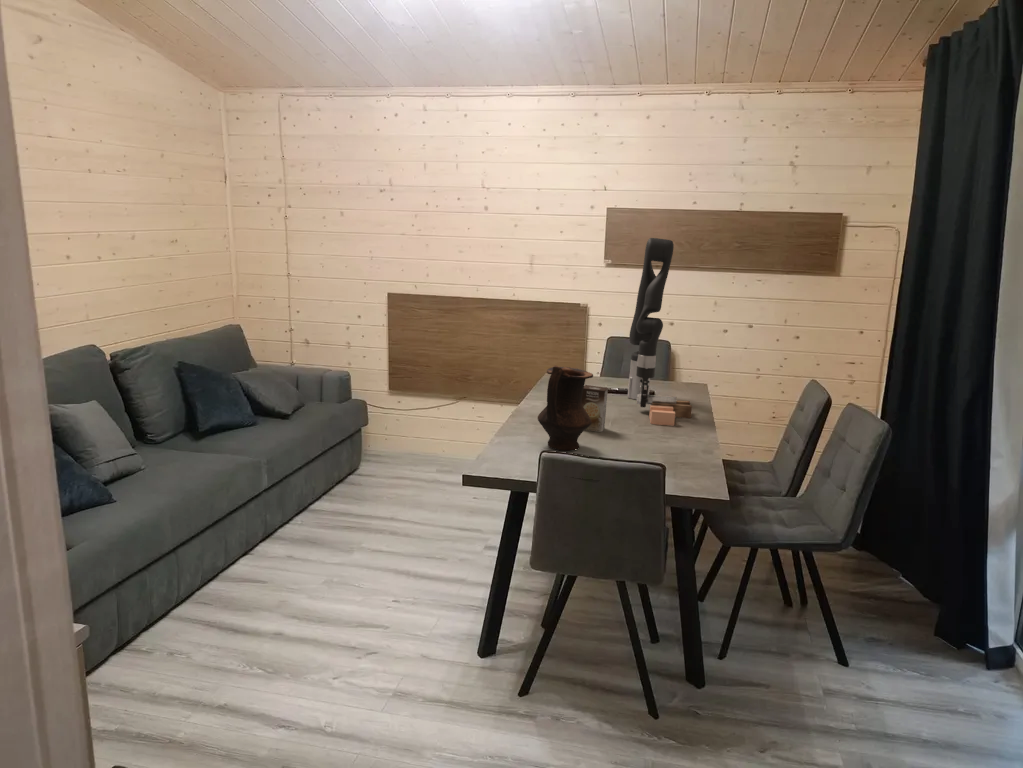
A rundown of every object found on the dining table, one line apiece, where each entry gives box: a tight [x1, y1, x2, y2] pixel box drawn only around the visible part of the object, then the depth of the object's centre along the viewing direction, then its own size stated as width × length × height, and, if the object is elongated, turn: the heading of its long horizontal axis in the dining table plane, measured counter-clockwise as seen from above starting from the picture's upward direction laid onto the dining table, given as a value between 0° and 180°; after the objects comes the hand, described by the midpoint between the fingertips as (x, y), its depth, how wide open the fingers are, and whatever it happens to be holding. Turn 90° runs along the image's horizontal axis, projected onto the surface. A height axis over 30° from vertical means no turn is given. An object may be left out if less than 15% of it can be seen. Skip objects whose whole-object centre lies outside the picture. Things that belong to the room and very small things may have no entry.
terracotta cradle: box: [648, 404, 676, 427], centre depth 290 cm, size 9×11×5 cm
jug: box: [537, 364, 594, 452], centre depth 247 cm, size 21×18×30 cm
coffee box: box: [581, 384, 609, 433], centre depth 274 cm, size 9×6×16 cm
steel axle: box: [636, 394, 677, 406], centre depth 302 cm, size 16×4×4 cm, turn 82°
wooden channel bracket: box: [652, 400, 693, 419], centre depth 302 cm, size 16×9×5 cm, turn 83°
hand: (642, 405), depth 304 cm, fingers closed on steel axle, 4 cm apart
